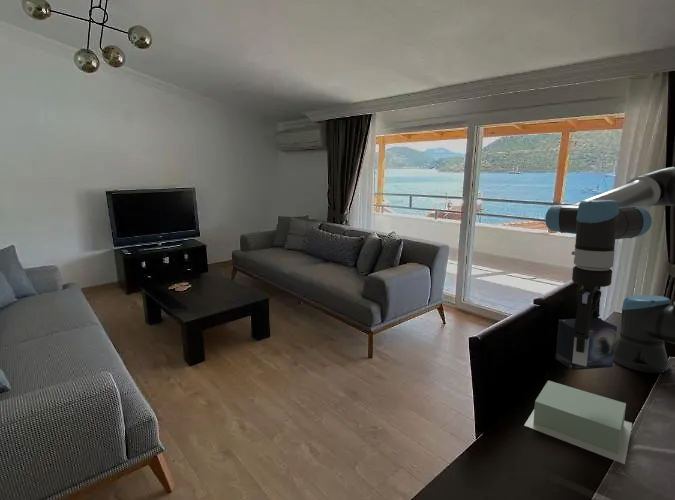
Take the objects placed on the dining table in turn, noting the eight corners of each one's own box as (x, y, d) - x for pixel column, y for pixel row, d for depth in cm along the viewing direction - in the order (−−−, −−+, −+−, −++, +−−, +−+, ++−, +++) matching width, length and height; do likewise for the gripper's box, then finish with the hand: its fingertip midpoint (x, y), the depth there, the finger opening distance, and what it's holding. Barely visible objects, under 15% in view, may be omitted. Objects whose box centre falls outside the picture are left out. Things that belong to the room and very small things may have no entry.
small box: (573, 371, 85) (577, 329, 83) (553, 359, 91) (556, 319, 89) (614, 368, 86) (619, 325, 84) (592, 355, 92) (596, 316, 90)
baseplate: (542, 397, 104) (543, 394, 104) (631, 426, 91) (632, 423, 91) (523, 428, 91) (524, 425, 91) (624, 468, 78) (624, 464, 78)
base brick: (546, 400, 101) (548, 380, 100) (623, 425, 90) (626, 403, 89) (533, 422, 92) (534, 401, 91) (617, 454, 81) (620, 430, 80)
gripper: (582, 257, 95) (575, 335, 99) (562, 274, 78) (554, 368, 82) (618, 260, 90) (610, 342, 94) (604, 279, 73) (595, 379, 77)
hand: (584, 354), depth 88 cm, fingers closed on small box, 11 cm apart
